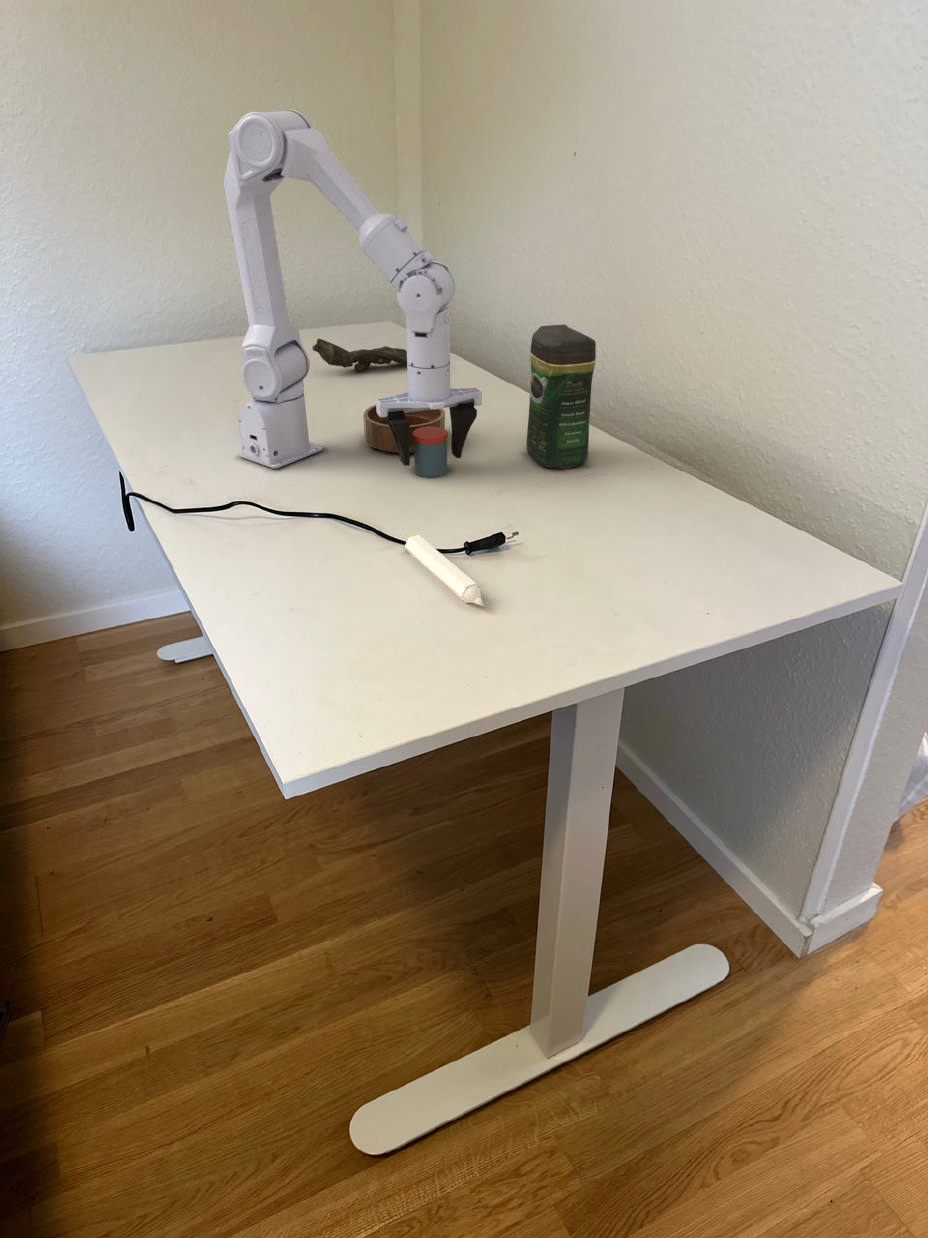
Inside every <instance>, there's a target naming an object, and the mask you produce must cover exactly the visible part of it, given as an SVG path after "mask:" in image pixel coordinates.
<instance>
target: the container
mask: <svg viewBox="0 0 928 1238" xmlns="http://www.w3.org/2000/svg"><path fill="white" fill-rule="evenodd" d="M448 438H449V432H448V430H447V429H446V428H445V429H443V428H440V427H421V428H418V429H416V430H414V431H413V439H414V453H413V456H414V473H415V474H416V475H417V476H420V477H424V478H439V477H441V476H444V475H446V474H447V473H448Z"/></svg>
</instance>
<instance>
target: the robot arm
mask: <svg viewBox="0 0 928 1238" xmlns="http://www.w3.org/2000/svg"><path fill="white" fill-rule="evenodd" d="M228 139H229V145H230V146H229V147H230V151H229V156H228V160H227V166H226V167H225V168H226V169H225V174H224V177H223V186H224V192H225V198H226V199H225V200H226V205H227V209H228V215H229V221H230V226H231V227H230V228H231V232H232V237H233V242H234V249H235V254H236V260H237V265H238V266H237V267H238V270H239V271H238V272H239V276H240V283H241V289H242V292H243V293H242V294H243V299H244V305H245V309H246V315H247V322H248V328H247V332H246V334H245V336H244V339H243V341H242V344H241V347H240V348H241V353H242V361H241V365H240V370H239V372H240V373H239V374H240V380H241V382H242V385H243V387H244V388H245V390H246V391H247V392H248V394H250V395H251V398H250V400H249V401H248V402H247V403H245V404H243V405H242V406H240V408H239V410H238V414H237V420H238V428H239V434H240V441H241V447H242V448H241V449H242V452H241V453H239V456H240V457H241V458H243V459H246V460H249V461H251V462H254V463H257V464H260V465H263V466H266V467H268V468H271V469H273V470H274V469H275V470H276V469H280V468H282V467H284V466H287V465H291V464H292V463H294V462H297V461H300V460H303V459H304V458H305V459H306V457H310V456H312V455H314V454H317V453H319V452H322V451H323V447H322V446H320V445H317V444H314V443H310V437H309V427H308V426H309V425H308V416H307V406H306V398H305V397H306V396H305V389H304V387H305V383H304V380H305V378H306V377H307V376H308V374H309V372H310V368H311V365H310V364H311V362H310V358H309V354H308V352H307V351H306V349H305V347H304V346H303V344H302V341H301V336H300V335H301V334H300V331H299V330H298V329H297V328H296V326H295V325H294V324H292V323H291V322H290V318H289V312H288V305H287V299H286V293H285V292H286V291H285V287H284V280H283V275H282V267H281V261H280V253H279V247H278V241H277V236H276V230H275V223H274V222H275V221H274V216H273V209H272V204H271V203H272V202H271V195H272V194H273V192H274V191H276V189H277V188H278V186H279V185H280V184H281V182H282V181H283V180H284V179H285V178H290V179H295V180H299V181H304V182H308V183H311V184H312V185H313V186H314V187H315V188H316V189H317V190H318V191H319V192H320V194H322V195H323V196H324V197H325V198H326V200H327V201H328V202H329V203H330V204H331V205H332V206H333V207H334V208H335V209H336V210H337V211H338V212H339V213H340V214H341V215H342V216H343V217H344V218H345V219H346V220H347V222H349V224H350V225H352V227H353V228H354V229H355V230H356V231H357V233H358V243H359V244H358V245H359V249H360V250H361V251H362V252H363V253H364V255H365V256H366V257H367V258H368V259H369V260H370V262H371V263H372V264H373V265H374V266H375V267H376V268H377V269H378V271H379V272H380V273H381V274H382V276H383V277H384V278H385V279H386V280H387V281H388V283H390V284H391V287H393V288H394V289H396V290H397V291H398V292H396V300H397V303H398V305H399V307H400V309H401V310H402V312H403V313H404V316H405V340H406V341H405V343H406V344H405V345H406V351H407V365H406V370H407V371H406V372H407V391H406V392H402V393H399V394H395V395H390V396H388V397H381V398H376V399H375V405H376V411H377V414H378V415H379V416H380V417H384V418H385V420H386V421H387V423H388V425H389V427H390V429H391V431H392V434H393V436H394V438H395V441H396V444H397V447H398V451H399V453H398V454H399V455H398V456H399V460H400V462H401V463H402V465H403V466H404V467H406V466H407V467H408V466H410V462H411V461H410V460H411V457H410V453H409V445H408V441H409V427H410V423H409V422H408V421H407V420H406V416H405V415H404V413H407V412H415V411H423V410H432V409H433V410H434V409H443V410H444V409H447V408H449V416H450V425H451V443H450V444H451V445H450V448H451V455H453V456H454V457H455V459H462V455H463V451H464V446H465V443H466V439H467V437H468V434H469V432H470V429H471V427H472V425H473V424H474V422H475V420H476V419H477V415H478V410H477V408H476V407H477V406H482V404H483V391H482V390H480V389H479V388H478V387H465V388H464V387H463V388H462V387H461V388H459V387H456V388H455V387H453V388H451V327H450V306H448V305H449V304H450V303H451V301H453V300H452V299H453V298H454V296H455V291H456V283H455V279H454V277H453V275H452V273H451V272H450V269H449V267H448V266H447V265H446V264H445V263H443V262H441V261H438V260H434V256H433V255H432V254H431V253H430V252H429V251H427V252H425V251H424V249H423V248H422V247H421V246H420V245H419V244H418V242H417V241H416V240H415V239H414V238H413V236H412V235H411V234H410V233H409V232H408V230H407V229H408V228H409V225H408V223H407V222H406V221H405V220H404V218H399V219H397V218H396V216H395V215H394V214H392V213H382V212H379V211H378V210H377V208H375V206H374V205H373V204H372V202H371V201H370V199H369V198H368V197H367V196H366V194H365V193H364V192H363V190H362V189H361V188H360V186H359V185H358V184H357V183H356V181H355V180H354V179H353V177H352V175H350V173H349V172H348V171H347V169H346V168H345V167H344V166H343V164H342V163H341V162H340V160H339V159H338V158H337V157H336V155H335V154H334V153H333V151H332V149H330V146H329V145H328V143H327V140H326V139H325V137H324V135H323V134H322V133H321V132H320V131H319V130H318V129H317V128H316V127H313V126H312V124H311V122H310V121H309V119H308V118H307V117H306V116H305V115H304V114H303V113H302V112H300V111H298V110H295V109H292V108H291V109H290V108H289V109H283V110H280V111H264V112H263V111H251V112H248V113H246V114H244V115H243V116H242V117H241V118H240V119H239V120H238V122H237V123H236V124H235V125H234V127H233V128H232V129H231V130H230V131H229V133H228Z"/></svg>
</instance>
